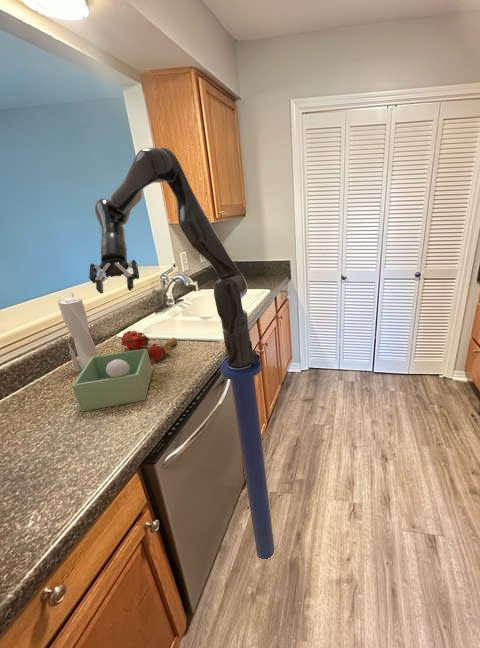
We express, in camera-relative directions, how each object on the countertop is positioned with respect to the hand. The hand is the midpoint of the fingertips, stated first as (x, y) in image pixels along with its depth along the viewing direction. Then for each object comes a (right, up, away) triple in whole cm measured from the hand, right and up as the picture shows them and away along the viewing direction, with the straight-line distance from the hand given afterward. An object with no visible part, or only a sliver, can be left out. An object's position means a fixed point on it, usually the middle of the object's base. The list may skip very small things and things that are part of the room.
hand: (115, 290), depth 104 cm
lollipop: (0, -31, +3) cm, 31 cm away
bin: (0, -32, +3) cm, 32 cm away
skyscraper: (-21, -26, +19) cm, 39 cm away
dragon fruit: (-9, -20, +33) cm, 39 cm away
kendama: (+4, -22, +27) cm, 35 cm away
